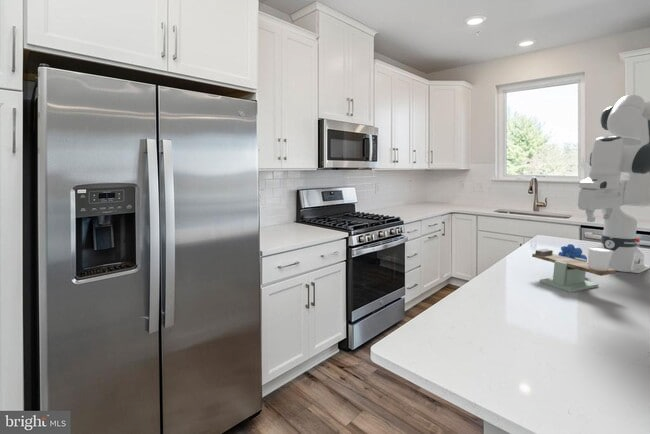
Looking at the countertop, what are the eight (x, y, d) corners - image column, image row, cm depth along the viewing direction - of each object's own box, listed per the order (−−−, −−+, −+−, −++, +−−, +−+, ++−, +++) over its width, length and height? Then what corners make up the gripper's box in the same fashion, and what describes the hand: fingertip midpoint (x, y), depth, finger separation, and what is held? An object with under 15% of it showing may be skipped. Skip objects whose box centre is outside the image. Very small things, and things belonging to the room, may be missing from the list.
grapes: (551, 269, 157) (553, 242, 155) (560, 267, 159) (563, 241, 158) (579, 277, 146) (582, 248, 144) (588, 275, 149) (592, 247, 147)
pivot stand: (566, 277, 146) (569, 254, 145) (598, 286, 135) (601, 262, 134) (539, 282, 140) (541, 258, 138) (570, 292, 129) (573, 267, 128)
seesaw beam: (530, 258, 146) (531, 250, 146) (546, 256, 150) (547, 248, 150) (599, 278, 123) (600, 268, 122) (616, 274, 127) (618, 265, 126)
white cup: (614, 271, 123) (617, 252, 122) (592, 270, 125) (594, 251, 124) (603, 266, 130) (605, 247, 129) (582, 264, 131) (584, 246, 130)
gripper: (611, 180, 134) (607, 216, 136) (576, 183, 126) (572, 221, 129) (631, 181, 128) (626, 219, 131) (595, 184, 120) (590, 224, 123)
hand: (599, 220), depth 130 cm, fingers open, 8 cm apart
